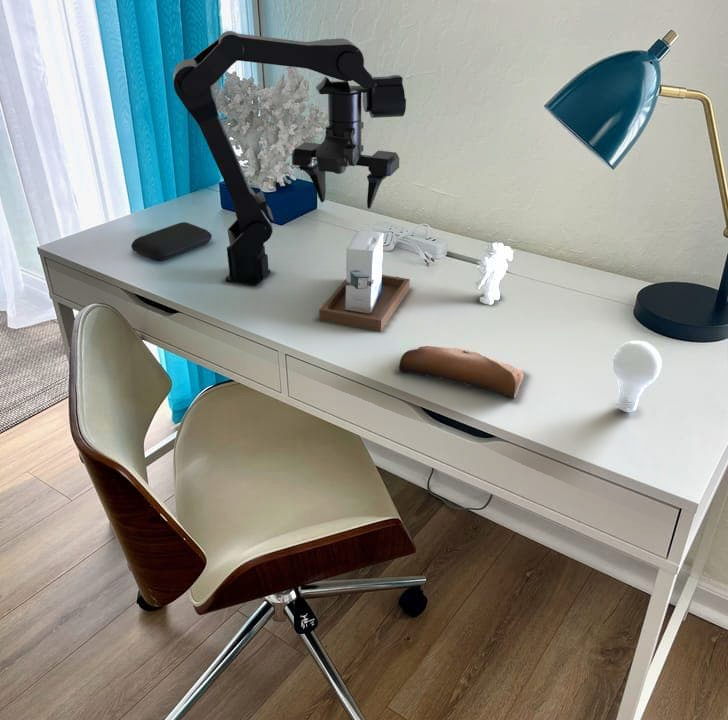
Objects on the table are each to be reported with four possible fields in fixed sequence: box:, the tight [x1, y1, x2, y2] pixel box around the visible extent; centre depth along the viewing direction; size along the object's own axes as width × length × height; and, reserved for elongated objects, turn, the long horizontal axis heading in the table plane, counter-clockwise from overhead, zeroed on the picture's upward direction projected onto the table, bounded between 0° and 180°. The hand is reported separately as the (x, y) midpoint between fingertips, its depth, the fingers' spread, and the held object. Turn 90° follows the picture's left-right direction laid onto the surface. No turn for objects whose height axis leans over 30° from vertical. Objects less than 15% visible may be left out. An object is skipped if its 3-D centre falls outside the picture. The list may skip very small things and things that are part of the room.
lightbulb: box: [612, 340, 662, 413], centre depth 102 cm, size 6×6×11 cm
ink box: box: [345, 229, 384, 313], centre depth 128 cm, size 9×5×12 cm, turn 168°
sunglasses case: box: [398, 345, 525, 399], centre depth 111 cm, size 18×7×7 cm
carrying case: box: [131, 221, 213, 262], centre depth 150 cm, size 11×3×15 cm
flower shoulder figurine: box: [474, 241, 514, 305], centre depth 130 cm, size 9×4×12 cm, turn 140°
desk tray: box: [318, 274, 411, 332], centre depth 131 cm, size 11×17×2 cm
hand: (345, 204), depth 136 cm, fingers open, 9 cm apart
